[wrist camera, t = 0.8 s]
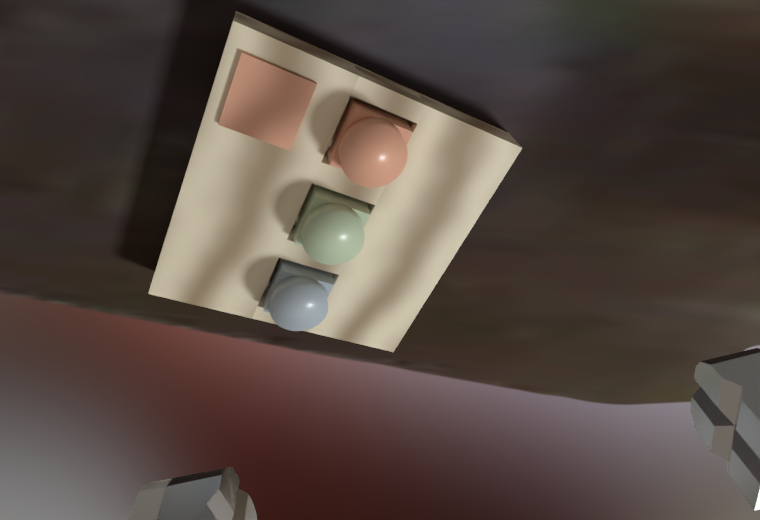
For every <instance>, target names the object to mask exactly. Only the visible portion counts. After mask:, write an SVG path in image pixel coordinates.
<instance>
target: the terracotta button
mask: <svg viewBox="0 0 760 520" xmlns="http://www.w3.org/2000/svg"><path fill="white" fill-rule="evenodd" d="M412 133H413V131H412V129H411V128H410V126H409V124H408V122H407V121H404V120H402V119H400V118H397V117H395V116H393V115H390V114H388V113H385V112H383V111H381V110H378V109H376V108H374V107H371V106H369V105H366V104H364V103H362V102H359V101H357V100H355V99H351V101H350V104H349V106H348V108H347V110H346V113H345V115H344V117H343V119H342V122H341V124H340V126H339V128H338V131H337V133H336V135H335V137H334V140H333V142H332V144H331V146H330V149H329V151H328V153H327V154H328V159H329V164H330V165H331V166H333V167H336V168H339V169H342V170H343V171H344V173H345V175H346V176H347V177H348V178H349V179H350V180H351V181H352V182H354V183H355V184H357V185H360V186H363V187H368V188H374V187H381V186H384V185H386V184H389V183H390V182H392V181H393V180H395V179H396V178H397V177H398V176H399V175H400V174H401V172H402V171H403V169H404V167H405V165H406V162H407V156H408V152H407V146H406V145H407V143H408V141H409V139H410V137H411V135H412Z"/></svg>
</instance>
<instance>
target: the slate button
mask: <svg viewBox="0 0 760 520" xmlns="http://www.w3.org/2000/svg"><path fill="white" fill-rule="evenodd" d="M333 286H334V282H333V275H332V273H330V272H327V271H323V270H320V269H316V268H313V267H309V266H306V265H302V264H299V263H295V262H292V261H288V260H285V259H280V261H279V263H278V266H277V268H276V270H275V272H274V275H273V277H272V279H271V281H270V284H269V286H268V288H267V290H266V293H265V295H264V312H267V313H270V315H271V317H272V319H273V321H274V322H275V323H276V324H277V325H279V326H280V327H282V328H284V329H287V330H291V331H304V330H308V329H311V328H313V327H315V326H317V325H319V324H320V323H321V322H322V321H323V320H324V319H325V317H326V315H327V313H328V301H327V297H328V295H329V293H330V291H331V290H332V288H333Z"/></svg>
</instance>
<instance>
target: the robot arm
mask: <svg viewBox="0 0 760 520" xmlns="http://www.w3.org/2000/svg"><path fill="white" fill-rule="evenodd" d="M694 379H695V380H696V381H697V382H698V384H699V385H700V386H701V387H700V388H699V389H698V390H697V391H696V393H695V394H694V395H693V396H692V402H691V413H692V416H693V420H694V424H695V427H696V429H697V430H698V433H699V434H700V436H701V438H702V440H703V441H704V443H705V444H706V445H707V447H708V448H709V449H710V451H711V452H713V453H715V454H717V455H719V456H721V457H723V458H724V459H726V460H728V473H727V474H728V476H729V477H730V478H731V480H732V481H733V482H734V484H735V485H736V487H737V488H738V489H739V491H740V492H741V493H742V495H743V496H744V497H745V499H746V500H747V501H748V502H749V504H750V505H751V507H752V508H753V509H754V510H760V349H758V348H756V349H751V350H747V351H743V352H739V353H734V354H730V355H726V356H722V357H718V358H713V359H709V360H705V361H701V362H700V363H699V364H698V365H697V366H696V369H695V376H694ZM238 482H239V478H238V476H237V475H236V473H235V472H234V470H233V469H232V467H231V468H223V469H218V470H213V471H208V472H203V473H197V474H192V475H187V476H182V477H176V478H172V479H168V480H163V481H158V482H153V483H148V484H145V485H144V486H143V487H142V489H141V490H140V491H139V492H138V494H137V497H136V500H135V503H134V506H133V509H132V512H131V515H130V518H129V520H257V515H256V511H255V508H254V505H253V502H252V500H251V498H250V497H249V495H248V494H247V493H245V492H243V491H240V490H238Z"/></svg>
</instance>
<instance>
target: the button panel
mask: <svg viewBox="0 0 760 520" xmlns="http://www.w3.org/2000/svg"><path fill="white" fill-rule="evenodd" d="M351 99H355V100H357V101H359V102H362V103H364V104H366V105H369V106H371V107H374V108H376V109H378V110H381V111H383V112H385V113H388V114H390V115H393V116H395V117H397V118H400V119H402V120H404V121H407V122H408V124H409V126H410V128H411V129H412V131H413V133H412V135H411V137H410V139H409V141H408V143H407V145H406V146H407V152H408V156H407V162H406V165H405V167H404V169H403V171H402V172H401V174H400V175H399V176H398V177H397V178H396V179H395V180H393V181H392V182H390V183H389V184H386V185H384V186H381V187H374V188H368V187H363V186H360V185H357V184H355V183H354V182H352V181H351V180H350V179H349V178H348V177H347V176H346V175H345V173H344V171H343V170H342V169H339V168H336V167H333V166H331V165H330V164H329V159H328V154H327V153H328V151H329V149H330V146H331V144H332V142H333V140H334V137H335V135H336V133H337V131H338V128H339V126H340V124H341V122H342V119H343V117H344V115H345V113H346V110H347V108H348V106H349V104H350V101H351ZM521 149H522V147H521V146H520V145H519V144H518V143H517V142H516V140H515V139H514V138H513V137H512V136H511V135H510V134H509V133H508V132H505V131H503V130H501V129H499V128H497V127H494V126H492V125H490V124H488V123H485V122H483V121H481V120H479V119H476V118H474V117H472V116H470V115H468V114H465V113H463V112H461V111H459V110H456V109H454V108H452V107H450V106H447V105H445V104H443V103H441V102H439V101H436V100H434V99H432V98H430V97H427V96H425V95H423V94H421V93H418V92H416V91H414V90H412V89H410V88H407V87H405V86H403V85H401V84H398V83H396V82H394V81H392V80H389V79H387V78H385V77H383V76H381V75H378V74H376V73H374V72H372V71H369V70H367V69H365V68H363V67H360V66H358V65H356V64H354V63H351V62H349V61H347V60H345V59H343V58H340V57H338V56H336V55H334V54H331V53H329V52H327V51H325V50H322V49H320V48H318V47H316V46H314V45H311V44H309V43H307V42H305V41H302V40H300V39H298V38H296V37H293V36H291V35H289V34H287V33H285V32H282V31H280V30H278V29H276V28H273V27H271V26H269V25H267V24H264V23H262V22H260V21H258V20H256V19H253V18H251V17H249V16H247V15H244V14H242V13H240V12H238V11H236V12H235V15H234V18H233V22H232V25H231V28H230V31H229V35H228V38H227V41H226V44H225V47H224V51H223V54H222V57H221V60H220V63H219V67H218V70H217V73H216V76H215V80H214V83H213V86H212V89H211V92H210V96H209V99H208V102H207V105H206V108H205V112H204V115H203V118H202V121H201V125H200V128H199V131H198V134H197V137H196V141H195V144H194V147H193V150H192V153H191V157H190V160H189V163H188V166H187V170H186V173H185V176H184V179H183V182H182V186H181V189H180V192H179V195H178V198H177V202H176V205H175V208H174V211H173V215H172V218H171V221H170V224H169V227H168V231H167V234H166V237H165V240H164V243H163V247H162V250H161V253H160V256H159V260H158V263H157V266H156V269H155V272H154V276H153V279H152V283H151V286H150V289H149V293H148V294H151V295H155V296H160V297H164V298H168V299H172V300H176V301H181V302H185V303H189V304H193V305H197V306H202V307H206V308H210V309H214V310H218V311H223V312H227V313H231V314H235V315H239V316H244V317H248V318H252V319H256V320H260V321H265V322H269V323H273V324H276V323H275V322H274V321H273V319H272V317H271V315H270V313H267V312H264V295H265V293H266V290H267V288H268V286H269V284H270V281H271V279H272V277H273V275H274V272H275V270H276V268H277V266H278V263H279V261H280V259H285V260H288V261H292V262H295V263H299V264H302V265H306V266H309V267H313V268H316V269H320V270H323V271H327V272H330V273H332V275H333V282H334V286H333V288H332V290H331V291H330V293H329V295H328V297H327V301H328V313H327V315H326V317H325V319H324V320H323V321H322V322H321V323H320V324H319V325H317V326H315V327H313V328H311V329H308V330H304V331H307V332H311V333H315V334H319V335H323V336H328V337H332V338H336V339H340V340H344V341H349V342H353V343H357V344H361V345H365V346H370V347H374V348H378V349H382V350H386V351H391V352H394V350H395V349H396V347H397V346H398V344H399V342H400V341H401V339H402V338H403V336H404V335H405V333H406V331H407V330H408V328H409V327H410V325H411V323H412V322H413V320H414V319H415V317H416V316H417V314H418V312H419V311H420V309H421V308H422V306H423V304H424V303H425V301H426V300H427V298H428V297H429V295H430V293H431V292H432V290H433V289H434V287H435V285H436V284H437V282H438V281H439V279H440V278H441V276H442V274H443V273H444V271H445V270H446V268H447V267H448V265H449V263H450V262H451V260H452V259H453V257H454V255H455V254H456V252H457V251H458V249H459V248H460V246H461V244H462V243H463V241H464V240H465V238H466V236H467V235H468V233H469V232H470V230H471V229H472V227H473V225H474V224H475V222H476V221H477V219H478V217H479V216H480V214H481V213H482V211H483V210H484V208H485V206H486V205H487V203H488V202H489V200H490V198H491V197H492V195H493V194H494V192H495V191H496V189H497V187H498V186H499V184H500V183H501V181H502V180H503V178H504V176H505V175H506V173H507V172H508V170H509V168H510V167H511V165H512V164H513V162H514V161H515V159H516V157H517V156H518V154H519V153H520V151H521ZM314 184H315V185H318V186H321V187H324V188H327V189H330V190H333V191H336V192H338V193H341V194H344V195H347V196H350V197H353V198H356V199H359V200H361V201H364V202H367V205H368V208H369V212H370V216H369V218H368V220H367V222H366V224H365V226H364V228H363V230H364V234H365V240H364V244H363V247H362V249H361V250H360V252H359V253H358V254H357V255H356V256H355V257H354V258H353V259H351V260H349V261H347V262H345V263H342V264H338V265H326V264H322V263H319V262H317V261H315V260H313V259H312V258H311V257H309V256H308V254H307V253H306V252H305V250H304V248H303V247H302V246H299V245H295V244H294V235H293V230H294V227H295V225H296V223H297V221H298V218H299V216H300V214H301V212H302V209H303V207H304V205H305V203H306V200H307V198H308V196H309V194H310V191H311V189H312V187H313V185H314Z"/></svg>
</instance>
